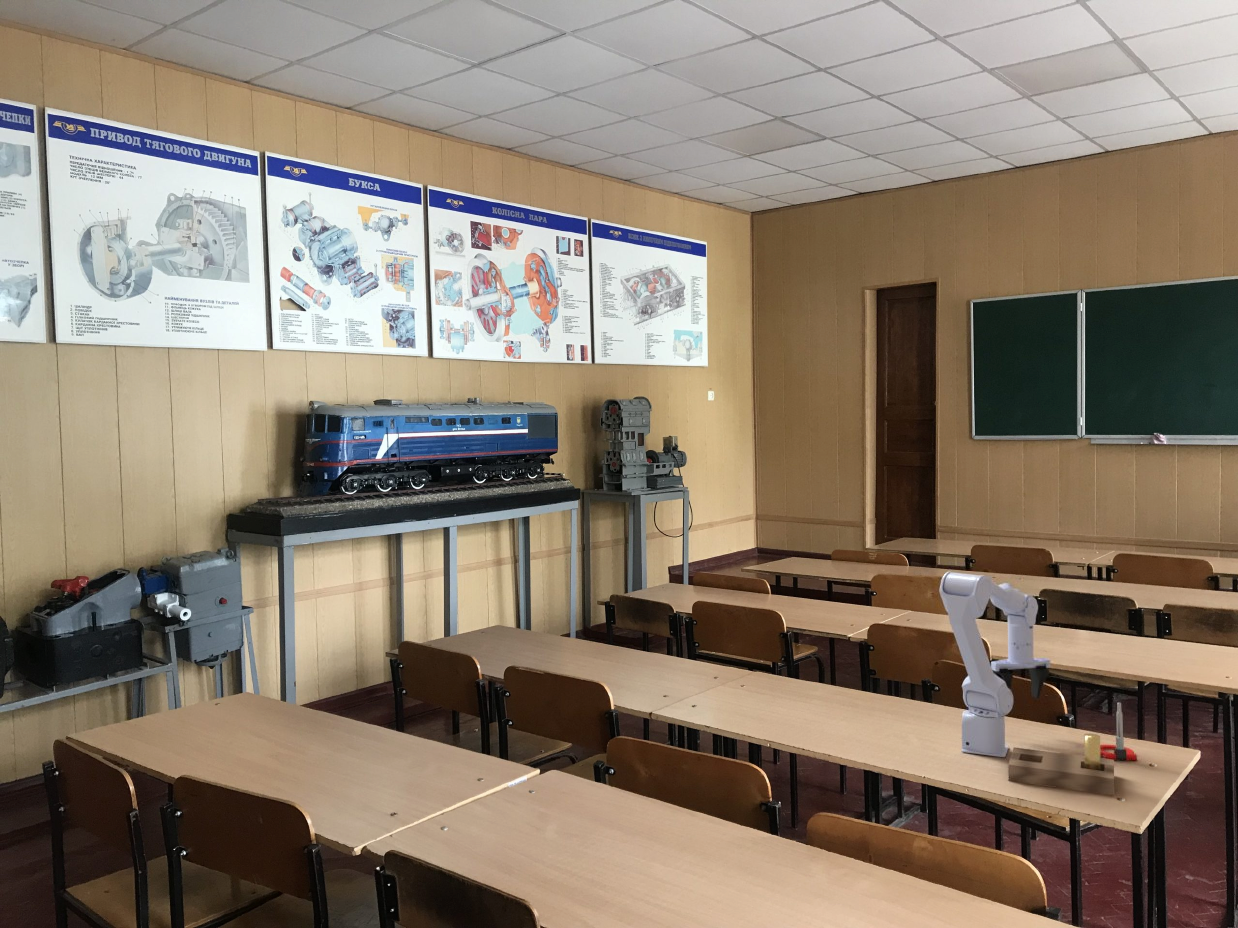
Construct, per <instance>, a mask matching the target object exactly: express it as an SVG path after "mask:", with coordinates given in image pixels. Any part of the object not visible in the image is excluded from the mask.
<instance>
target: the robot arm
mask: <svg viewBox="0 0 1238 928" xmlns="http://www.w3.org/2000/svg"><path fill="white" fill-rule="evenodd" d="M938 592H939V595H940V598H941V600H942V603H943V607H944V609H945V612H947V614H948V620H949V624H950V626H951V627H950V628H951V629H952V632H953V635H954V638H955V641H956V644H957V646H958V649H959V652H960V655H961V659H962V661H963V665H964V667H965V670H966V673H967V676H966V677H965V679H964V680H963V682H962V685H961V688H962V698H963V702H964V704H965V706H966V707H967V708H968V710H963V711H962V717H961V752H962V753H967V754H973V755H975V754H976V755H985V756H990V757H999V758H1005V757H1006V756H1007V753H1008V751H1009V745H1007V744H1006V725H1005V724H1006V722H1005V721H1006V720H1005V719H1006V718H1005V717H1006V715H1008V714H1009V713H1010V712H1011V711H1012V709H1013V706H1014V695H1013V692H1012V688H1011V687H1012V681H1013V677H1014V674H1013V673H1012V672H1010V670H1023V669H1028V671H1029V677H1030V688H1031V689H1030V692H1031V693H1030V694H1031V696H1032V697H1033V698H1035V699H1039V698H1040V697H1041V696H1040V695H1041V692H1042V689H1043V686H1044V683H1045V681H1046V679H1047V677H1048V676H1049V675H1050V669H1049V668H1051V659H1049V658H1046V657H1039V658H1038V657H1034V625H1036V622H1037V621H1036V619H1037V614H1038V612H1039V611H1038V610H1039V605H1038V602H1037V599H1036V598H1035V597H1034V596H1033V595H1031V594H1025V593H1022V591H1021V590H1020V589H1017V588H1013V586H1012V584H1010V583H1006V582H1003V583H1001V584H997V583H996V582H995V581H993V580H992V578H991V576H987V574H986V575H984V574H981V575H979V574H969V573H962V572H961V573H960V572H954V571H946V573H945V574H944V575H943V576H942V577H941V580H940V586H939V590H938ZM989 600H990V603H992V605H994V607H996V608H998V609H1000V610H1002V612H1003V614H1004V616H1007V658H1004V659H999V660H996V661H995V660H994V661H991V662H990V660H989V656H988V653H987V650H986V648H985V645H984V642H983V639H982V636H981V633H980V630H979V627H978V624H977V621H976V619H978V618H981V617H982V616H983V615H984V612H985V611H986V608H987V605H988V603H989Z"/></svg>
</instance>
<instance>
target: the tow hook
mask: <svg viewBox="0 0 1238 928" xmlns="http://www.w3.org/2000/svg"><path fill="white" fill-rule="evenodd" d="M1116 703H1117V704H1116V705H1117V707H1116V708H1117V709H1116V710H1117V711H1116V737H1115V744H1100V757H1101V756H1102V757H1103V758H1104V759H1112V760H1114V761H1137V760H1138V756H1137V753H1135V751H1134V750H1133V749H1131V748H1128V747H1127V746H1126V747H1125V738H1124V734H1123V733H1124V732H1123V731H1124V728H1123V722H1124V721H1123V712H1122V702H1116ZM1105 750H1113V752H1109V751H1105Z"/></svg>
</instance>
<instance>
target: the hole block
mask: <svg viewBox="0 0 1238 928" xmlns="http://www.w3.org/2000/svg"><path fill="white" fill-rule="evenodd" d="M1007 768H1008V769H1007V770H1008V778H1007V779H1008V781H1009V782H1014V783H1015V782H1017V783H1024V784H1028V785H1029V784H1031V785H1039V786H1045V787H1052V788H1058V789H1059V788H1060V789H1065V790H1070V791H1071V790H1072V791H1073V790H1074V791H1080V792H1087V793H1092V794H1093V793H1094V794H1100V795H1108V796H1115V760H1112V759H1104V757H1103V758H1101V757H1100V771H1099V770H1091V769H1085V755H1079V754H1070V753H1062V752H1053V751H1049V750H1048V751H1046V750H1039V749H1030V748H1023V747H1014V746H1013V748H1012V751H1011V754H1010V757H1009V761H1008V765H1007Z"/></svg>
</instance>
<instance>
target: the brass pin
mask: <svg viewBox="0 0 1238 928" xmlns="http://www.w3.org/2000/svg"><path fill="white" fill-rule="evenodd" d="M1083 737H1084V745H1083V747H1084V749H1083V750H1084V752H1083V753H1084V755H1083V756H1085V769H1091V770H1099V771H1100V758H1101V755H1100V745H1101V735H1100V734H1097V733H1084V735H1083Z"/></svg>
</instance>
